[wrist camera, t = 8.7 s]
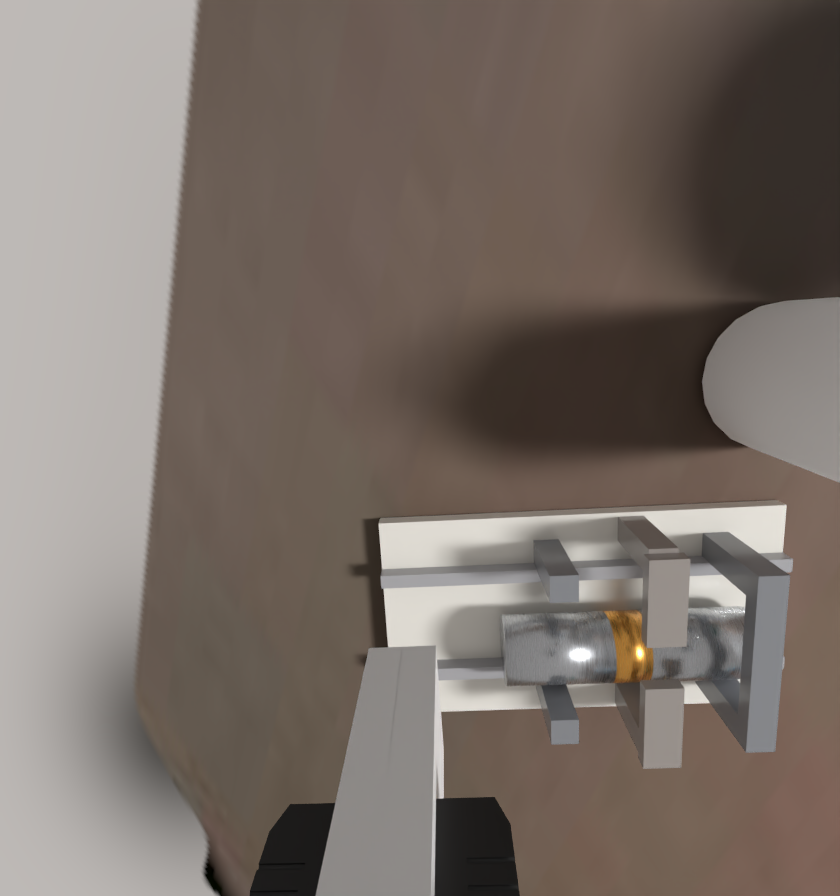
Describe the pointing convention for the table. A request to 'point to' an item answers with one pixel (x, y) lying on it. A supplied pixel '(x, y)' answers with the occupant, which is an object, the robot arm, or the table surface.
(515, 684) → the tube
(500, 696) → the collar board
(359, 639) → the table surface
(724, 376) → the potion bottle
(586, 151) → the table surface
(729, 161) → the table surface
